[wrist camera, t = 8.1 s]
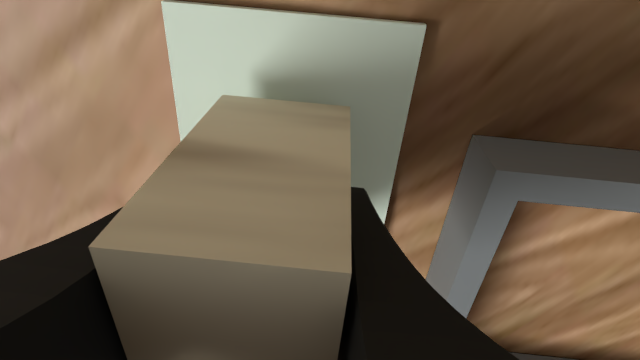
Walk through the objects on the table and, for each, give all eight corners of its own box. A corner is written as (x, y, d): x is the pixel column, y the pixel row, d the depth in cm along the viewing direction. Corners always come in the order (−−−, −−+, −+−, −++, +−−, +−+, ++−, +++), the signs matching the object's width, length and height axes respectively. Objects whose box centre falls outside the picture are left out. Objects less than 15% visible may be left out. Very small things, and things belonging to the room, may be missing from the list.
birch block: (335, 231, 14) (324, 434, 8) (231, 220, 14) (146, 414, 8) (350, 106, 11) (351, 273, 6) (222, 94, 12) (88, 247, 6)
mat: (374, 260, 17) (375, 267, 16) (198, 242, 17) (195, 248, 16) (424, 23, 11) (426, 25, 11) (166, -1, 11) (161, 1, 11)
